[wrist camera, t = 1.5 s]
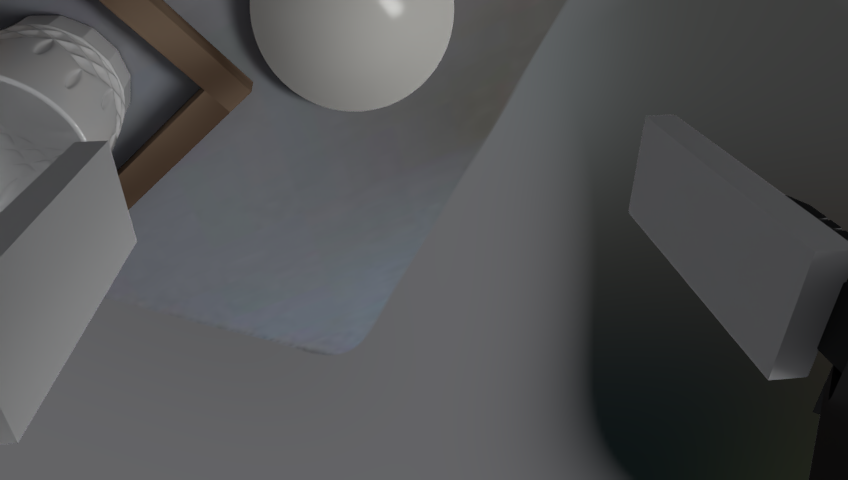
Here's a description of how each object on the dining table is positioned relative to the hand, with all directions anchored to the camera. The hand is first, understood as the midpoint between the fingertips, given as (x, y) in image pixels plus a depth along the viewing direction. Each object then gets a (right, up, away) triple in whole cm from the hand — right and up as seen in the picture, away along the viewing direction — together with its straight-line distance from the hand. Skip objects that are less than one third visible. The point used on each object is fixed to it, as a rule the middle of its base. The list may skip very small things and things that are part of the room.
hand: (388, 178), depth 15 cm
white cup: (-19, +8, +18) cm, 27 cm away
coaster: (-3, +11, +19) cm, 22 cm away
